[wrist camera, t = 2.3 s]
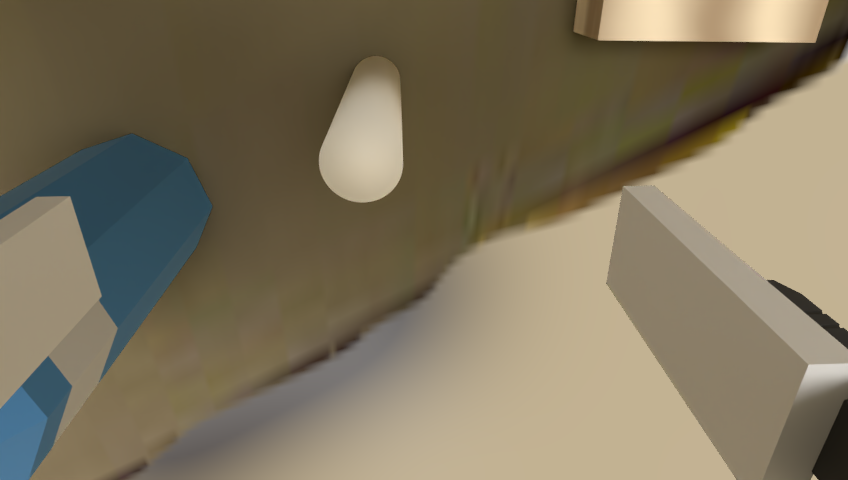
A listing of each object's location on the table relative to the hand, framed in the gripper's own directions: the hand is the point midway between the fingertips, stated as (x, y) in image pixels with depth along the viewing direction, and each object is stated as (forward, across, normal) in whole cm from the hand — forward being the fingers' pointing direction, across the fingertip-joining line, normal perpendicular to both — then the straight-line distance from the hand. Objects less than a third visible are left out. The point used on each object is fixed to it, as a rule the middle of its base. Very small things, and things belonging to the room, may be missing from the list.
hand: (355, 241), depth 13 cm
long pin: (+23, 0, 0) cm, 23 cm away
